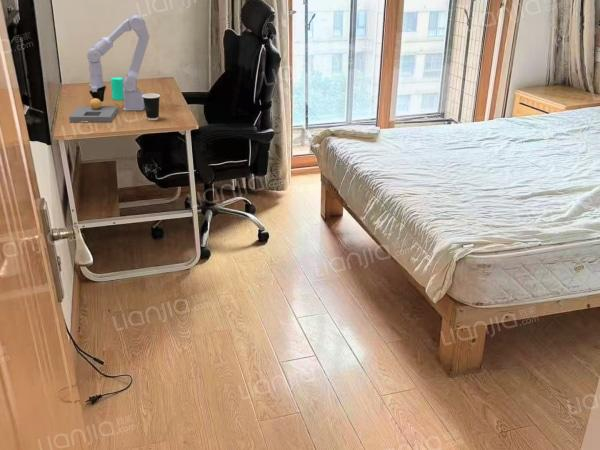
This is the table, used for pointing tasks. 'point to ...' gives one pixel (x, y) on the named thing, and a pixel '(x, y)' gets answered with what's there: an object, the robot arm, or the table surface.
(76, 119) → the plate
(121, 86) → the candle
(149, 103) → the dixie cup
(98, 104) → the ball
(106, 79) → the table surface
